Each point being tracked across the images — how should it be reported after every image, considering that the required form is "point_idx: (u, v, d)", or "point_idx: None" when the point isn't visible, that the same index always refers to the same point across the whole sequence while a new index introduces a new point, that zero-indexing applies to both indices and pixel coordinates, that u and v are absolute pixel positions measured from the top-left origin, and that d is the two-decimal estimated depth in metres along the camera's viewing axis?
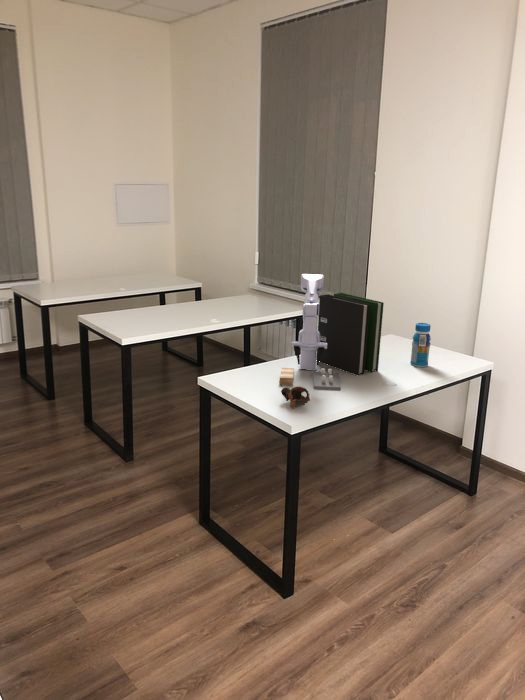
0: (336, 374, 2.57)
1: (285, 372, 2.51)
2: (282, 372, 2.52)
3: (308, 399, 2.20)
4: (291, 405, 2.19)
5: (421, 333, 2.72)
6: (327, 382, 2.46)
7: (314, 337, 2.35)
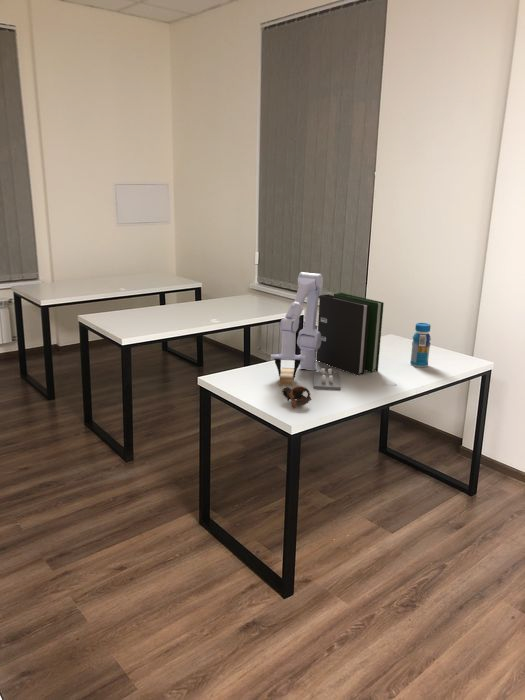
0: (336, 374, 2.57)
1: (285, 372, 2.51)
2: (282, 371, 2.52)
3: (309, 399, 2.20)
4: (292, 405, 2.20)
5: (421, 333, 2.72)
6: (327, 382, 2.46)
7: (292, 350, 2.46)
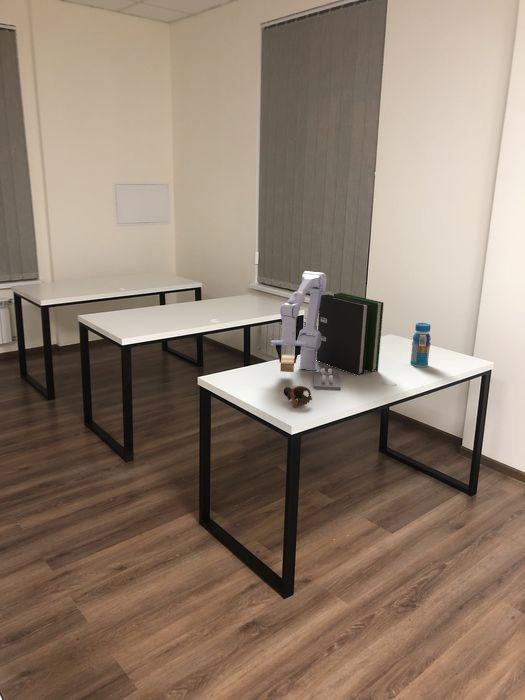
0: (336, 374, 2.57)
1: (285, 359, 2.50)
2: (283, 358, 2.50)
3: (310, 398, 2.21)
4: (293, 404, 2.20)
5: (421, 333, 2.72)
6: (327, 382, 2.46)
7: (293, 336, 2.45)
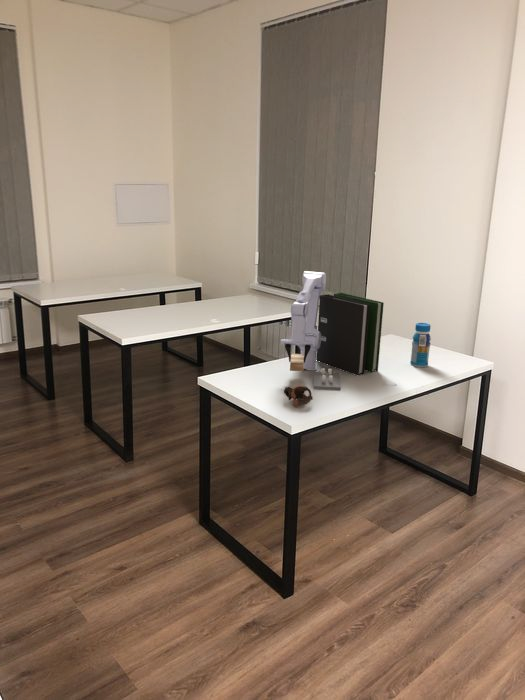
0: (336, 374, 2.57)
1: (295, 358, 2.49)
2: (292, 357, 2.50)
3: (311, 398, 2.21)
4: (294, 404, 2.20)
5: (421, 333, 2.72)
6: (327, 382, 2.46)
7: (303, 335, 2.44)
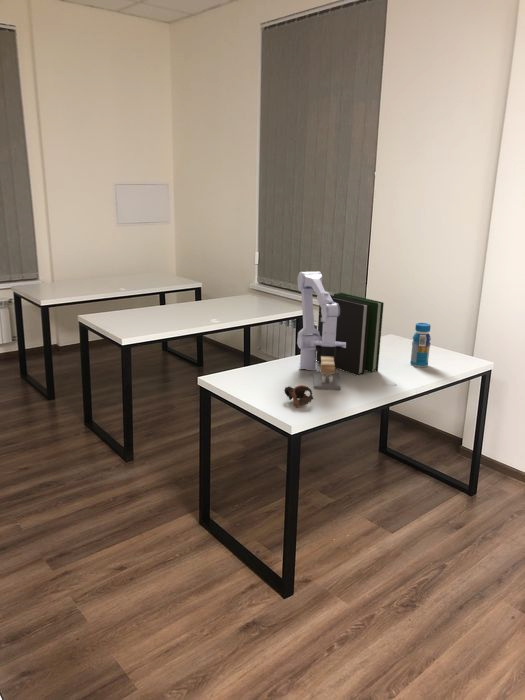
0: (336, 374, 2.57)
1: (325, 360, 2.48)
2: (322, 360, 2.49)
3: (311, 398, 2.21)
4: (295, 404, 2.20)
5: (421, 333, 2.72)
6: (327, 382, 2.46)
7: (333, 337, 2.43)
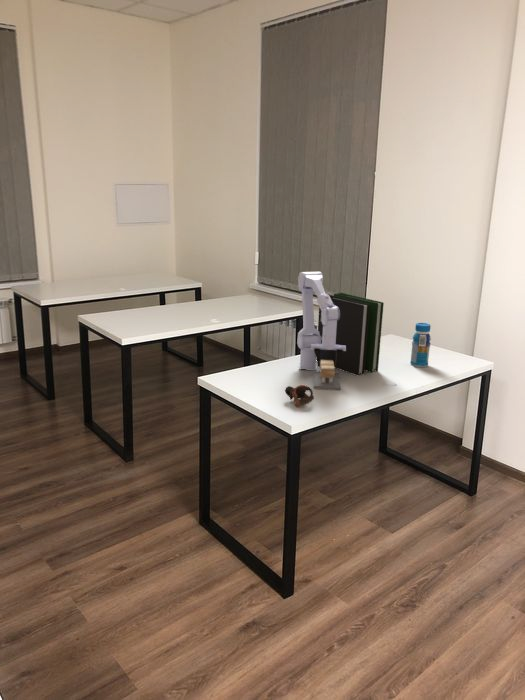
0: (336, 374, 2.57)
1: (325, 364, 2.49)
2: (322, 364, 2.49)
3: (312, 398, 2.22)
4: (295, 404, 2.21)
5: (421, 333, 2.72)
6: (327, 382, 2.46)
7: (333, 340, 2.44)
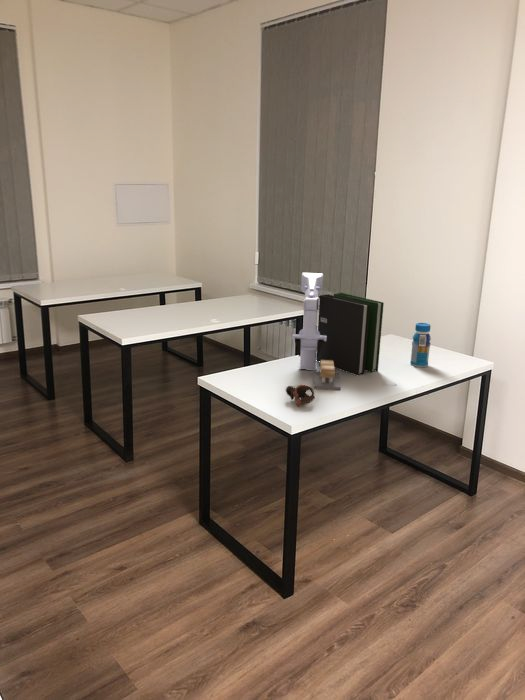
0: (336, 374, 2.57)
1: (325, 364, 2.49)
2: (322, 364, 2.49)
3: (313, 397, 2.22)
4: (296, 403, 2.21)
5: (421, 333, 2.72)
6: (327, 382, 2.46)
7: (314, 330, 2.48)
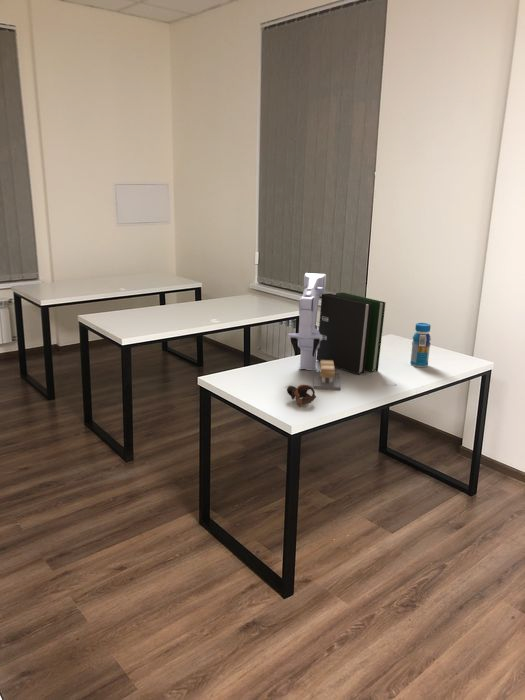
0: (336, 374, 2.57)
1: (325, 364, 2.49)
2: (322, 364, 2.49)
3: (314, 397, 2.22)
4: (298, 403, 2.21)
5: (421, 333, 2.72)
6: (327, 382, 2.46)
7: (310, 329, 2.48)
